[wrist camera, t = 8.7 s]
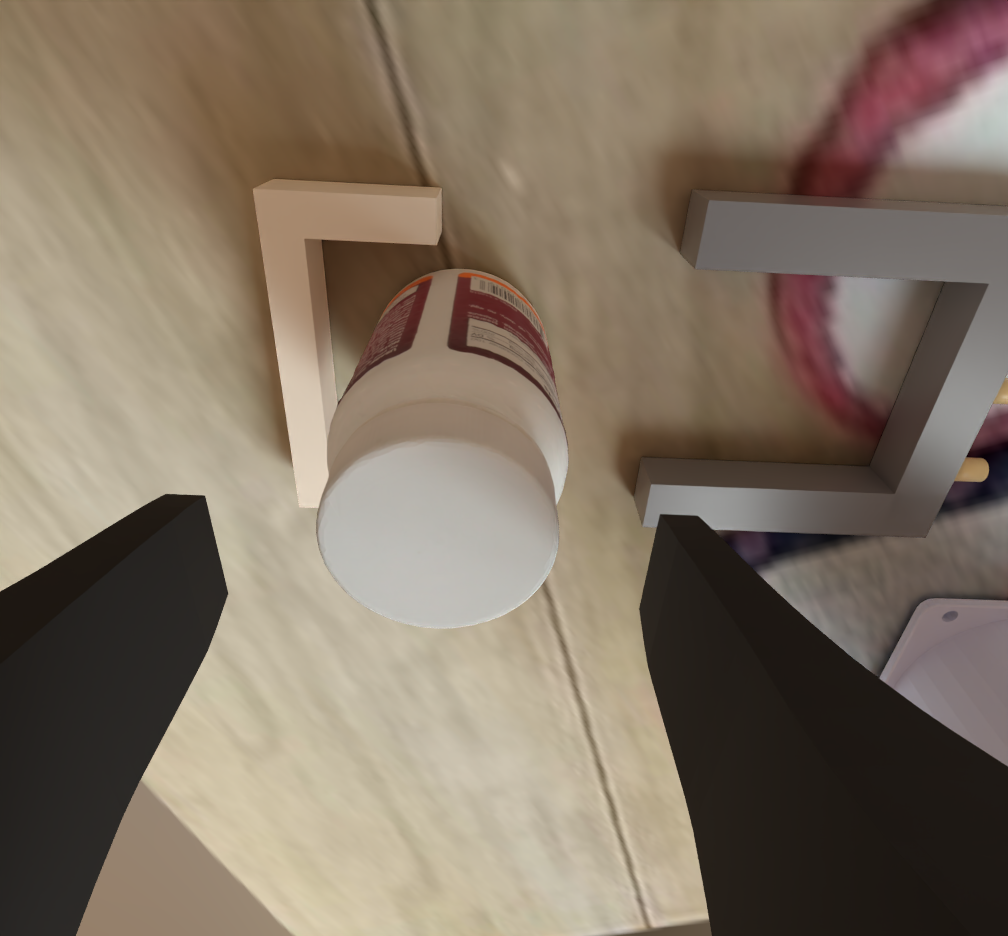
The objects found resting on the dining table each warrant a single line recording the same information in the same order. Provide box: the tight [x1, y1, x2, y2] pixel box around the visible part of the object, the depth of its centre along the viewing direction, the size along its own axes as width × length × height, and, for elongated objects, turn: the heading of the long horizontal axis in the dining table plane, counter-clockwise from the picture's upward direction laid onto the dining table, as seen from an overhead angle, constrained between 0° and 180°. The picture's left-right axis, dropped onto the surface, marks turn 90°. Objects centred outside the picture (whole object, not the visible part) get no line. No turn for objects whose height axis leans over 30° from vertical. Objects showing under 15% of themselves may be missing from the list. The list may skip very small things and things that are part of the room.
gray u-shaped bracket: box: [634, 190, 1008, 538], centre depth 17 cm, size 10×9×2 cm
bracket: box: [253, 179, 442, 508], centre depth 17 cm, size 4×8×2 cm, turn 177°
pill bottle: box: [316, 269, 569, 629], centre depth 14 cm, size 5×5×8 cm
